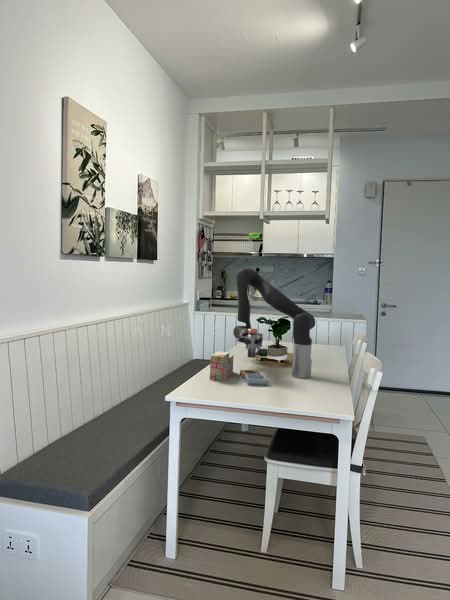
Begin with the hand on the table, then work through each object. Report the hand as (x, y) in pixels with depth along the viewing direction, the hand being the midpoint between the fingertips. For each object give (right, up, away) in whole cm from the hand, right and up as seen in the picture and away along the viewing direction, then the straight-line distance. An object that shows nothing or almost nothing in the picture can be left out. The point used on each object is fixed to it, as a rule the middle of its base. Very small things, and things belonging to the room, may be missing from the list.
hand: (253, 341), depth 236 cm
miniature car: (+13, -16, +52) cm, 56 cm away
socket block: (-1, -18, +4) cm, 19 cm away
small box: (+6, -13, +88) cm, 89 cm away
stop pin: (-1, -8, +3) cm, 8 cm away
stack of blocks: (-16, -18, +5) cm, 24 cm away
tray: (+1, -19, -6) cm, 20 cm away
